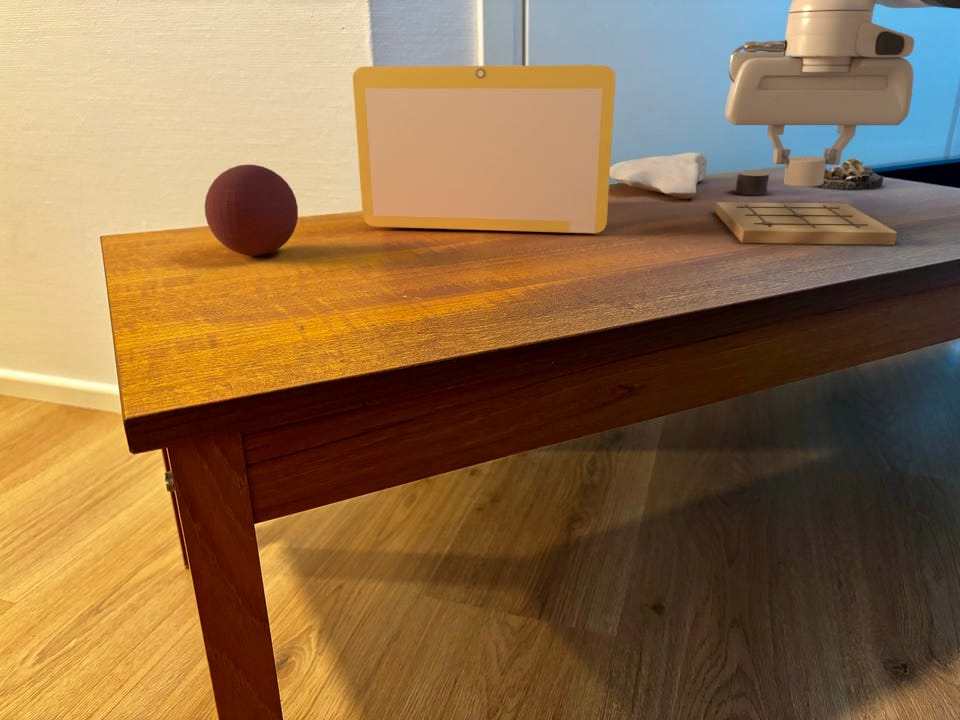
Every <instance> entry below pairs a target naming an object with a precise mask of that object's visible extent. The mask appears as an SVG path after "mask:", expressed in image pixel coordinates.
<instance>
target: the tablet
mask: <svg viewBox="0 0 960 720" xmlns="http://www.w3.org/2000/svg"><path fill="white" fill-rule="evenodd" d="M355 69H356V68H355ZM352 87H353V99H354V101H353V102H354V114H355V125H356V126H355V127H356V128H355V129H356V141H357V144H356V145H357V157H358V169H359V171H358V172H359V182H360V183H359V184H360V199H361V211H362V218H363V220H364V222H365V223H366V224H367V225H368V226H370V227H375V228H377V227H379V228H411V229H439V230H440V229H443V230H444V229H445V230H477V231H503V232H505V231H506V232H507V231H508V232H509V231H510V232H541V233H567V234H568V233H569V234H571V233H572V234H574V233H575V234H599V233H601V232H603V231H604V230H605V229H606V227H607V224H608V211H609V210H608V209H609V194H610V193H609V192H610V178H611V177H610V166H611V161H612V159H611V158H612V140H613V127H614V126H613V125H614V109H615V91H616V73H615V71H614V70H613V68H612V67H610V66H608V65H603V64H602V65H601V64H600V65H599V64H598V65H596V64H594V65H592V64H555V65H554V64H553V65H550V64H549V65H399V66H398V65H396V66H395V65H393V66H392V65H389V66H388V65H387V66H385V65H383V66H382V65H381V66H379V65H378V66H376V65H375V66H374V65H373V66H370V65H369V66H367V65H364V66H360V67H358V68H357V69H356V70H354V72H353V75H352Z"/></svg>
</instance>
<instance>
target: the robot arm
mask: <svg viewBox="0 0 960 720" xmlns="http://www.w3.org/2000/svg"><path fill="white" fill-rule="evenodd" d="M876 5H880V6H883V7H886V8H890V9H921V8H933V7H936V8H945V9H954V10H955V9H957V10H960V0H792V1H791V3H790V5H789V9H788V14H787V20H786V28H785V35H784V40H770V41H769V40H768V41H753V40H751V41H746V42H745V43H744V45H740V46H739V47H737V48H736V49H735V50H734V51H733V52H732V53H731V56H730V58H729V67H728V77H729V79H730V80H731V82H730V86H729V90H728V93H727V96H726V97H727V98H726V101H725V102H726V103H725V110H724V117H725V118H726V120H727V122H729V124H730V125H733V126H767V131H766V134H767V136H768V139H769V141H770V143H771V145H772V148H773V157H772V163H773V164H774V165H785V164H788V162H789V157H791V149H790V148H787V147H783V144H782V142H781V139H780V137H779V136H783V135H784V133H785V126H837V130H836V134H838V135H840V136H839V137H838V138H837V139H836V141H835V142H834V143H833V145H832V146H831V147H826V148H825V147H824V150H823V155H824V156H822V157H823V158H826V159H827V160H826V166H827V165H828V166H830V165H832V166H839V165H840V163H841V157H842V152H843V150H845V148H846V147H847V146H848V144H849V143H850V142H852V140H853V139H854V137H855V136H856V131H857V126H899V125H900V124H902V123H903V122H904V121H905V120H906V119H907V117H908V116H909V113H910V108H911V105H912V104H911V103H912V96H913V88H914V69H913V65H912V64H911V62H910V61H909V60H907V59H906V58H907V57H909V56H910V55H911V54H912V53H913V50H914V47H915V38H914V37H912V36H911V35H909V34H906V33H903V32H901V31H896V30H893V29H890V28H888V27H885V26H882V25H880V24H876V23H874V22H872V21H873V15H874V10H875V6H876ZM742 50H744V51H742Z"/></svg>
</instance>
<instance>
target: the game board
mask: <svg viewBox="0 0 960 720" xmlns="http://www.w3.org/2000/svg"><path fill="white" fill-rule="evenodd" d="M715 215H717V217H718V218H719V219H720V220H721V221H722V222H723V223H724V224H725V226H726V227H727V228H728V229H729V230H730V231H731V233H733V235H734V236H735V237H736V239H738V241H740V243H742V244H783V245H784V244H786V245H787V244H788V245H789V244H792V245H798V244H799V245H863V246H864V245H866V246H867V245H868V246H896V245H895V244H896V240H897V234H898V232H897V231H896V230H893V228H891V227H888V226H886V225H885V224H883V223H882V222H880V221H878V220H876V219H875V218H873V217H872V216H869V215H867V214H866V213H863V212H862V211H860V210H859V209H857V208H855V207H853V206H851V205H850V204H848V203H846V202H842V203H841V202H736V201H735V202H731V201H730V202H729V201H727V202H725V201H724V202H723V201H720V202H719V201H718V202H716V205H715Z"/></svg>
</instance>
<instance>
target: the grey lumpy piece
mask: <svg viewBox="0 0 960 720" xmlns="http://www.w3.org/2000/svg"><path fill="white" fill-rule="evenodd" d="M883 181H884V176H883V175H879V174H877V173H875V172H874V171H873V170H872V167H870V166H863V161H861V160H859V159H857V158H847V160H845V161H843V162H842V164H841V165H835V166H833V167H832V168H829V169H828V168H825V176H824V183H823V185H819V186H813V187H815V188H823V189H833V190H847V191H849V190H852V191H853V190H875V189H878V188H881V187H882V185H883Z"/></svg>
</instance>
